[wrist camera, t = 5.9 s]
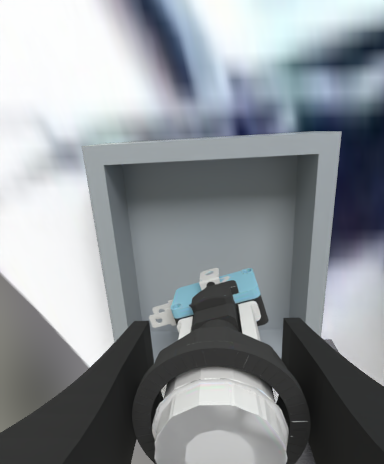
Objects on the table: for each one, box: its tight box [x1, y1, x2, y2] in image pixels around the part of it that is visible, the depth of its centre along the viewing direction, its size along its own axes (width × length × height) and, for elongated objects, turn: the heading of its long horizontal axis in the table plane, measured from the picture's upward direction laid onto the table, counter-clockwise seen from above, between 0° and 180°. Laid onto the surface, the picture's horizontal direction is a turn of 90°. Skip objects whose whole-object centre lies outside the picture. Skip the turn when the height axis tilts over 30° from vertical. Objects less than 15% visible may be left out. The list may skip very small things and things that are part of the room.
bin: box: [82, 131, 341, 363], centre depth 19 cm, size 13×15×4 cm
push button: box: [132, 268, 311, 464], centre depth 13 cm, size 7×5×10 cm
